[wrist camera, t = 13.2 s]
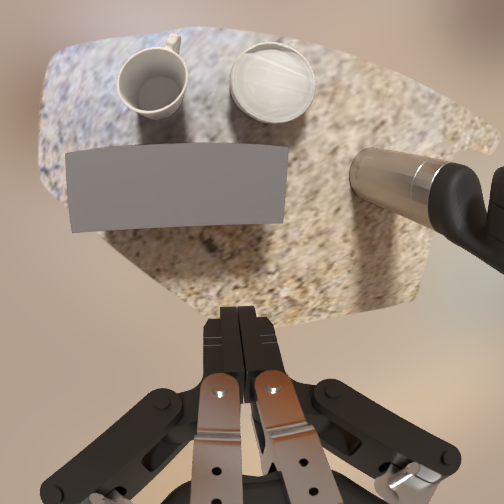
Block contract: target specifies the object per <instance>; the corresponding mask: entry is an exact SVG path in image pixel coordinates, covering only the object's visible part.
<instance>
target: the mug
mask: <svg viewBox="0 0 504 504" xmlns="http://www.w3.org/2000/svg"><path fill="white" fill-rule="evenodd" d="M180 44H181V36H180V35H177V34H170V35H169V37H168V40H167V42H166V45H165V47H164V48H161V47H154V48H148V49H145V50H142V51H140V52H138V53H136V54H134V55H133V56H132V57H130V58H129V59H128V60H127V61H126V62H125V64H124V65H123V67H122V68H121V70H120V72H119V75H118V79H117V91H118V95H119V97H120V99H121V101H122V102H123V103H124V104H125V105H126V106H127V107H128V108H129V109H131V110H133V111H135V112H137V113H139V114H141V115H142V116H144V117H147V118H149V119H154V120H160V119H164V118H167V117H169V116H171V115H172V114H173V113H175V112H176V111H177V109H178V108H179V106H180V104H181V102H182V99H183V96H184V93H185V91H186V87H187V83H188V70H187V66H186V64H185V62H184V60H183V59H182V58H181V57H180V56H179V50H180Z"/></svg>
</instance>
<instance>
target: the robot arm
mask: <svg viewBox="0 0 504 504" xmlns="http://www.w3.org/2000/svg"><path fill="white" fill-rule="evenodd" d="M350 183H351V186H352V189H353V190H354V192H355V193H356V195H357V196H358V197H360V198H361V199H363V200H366V201H368V202H371V203H373V204H375V205H378V206H380V207H382V208H385V209H387V210H389V211H392V212H394V213H396V214H399V215H401V216H403V217H405V218H408V219H410V220H412V221H414V222H416V223H419V224H421V225H423V226H425V227H427V228H430V229H432V230H434V231H436V232H438V233H440V234H442V235H444V236H445V237H446V238H447V239H448V240H450V241H451V242H453V243H454V244H456V245H458V246H460V247H462V248H463V249H465V250H467V251H468V252H470V253H471V254H473V255H475V256H476V257H478V258H479V259H481V260H482V261H484V262H485V263H487V264H488V265H490V266H491V267H493V268H494V269H496V270H497V271H499V272H500V273H502V274H504V167H501V168H498V169H497V170H496V171H495V173H494V175H493V179H492V184H491V191H490V200H489V206H488V213H487V212H486V208H485V204H484V200H483V194H482V189H481V185H480V182H479V179H478V177H477V175H476V174H475V172H474V171H473V170H472V169H470V168H469V167H467V166H465V165H461V164H457V163H452V162H448V161H444V160H439V159H434V158H429V157H424V156H419V155H414V154H409V153H403V152H397V151H391V150H385V149H378V148H367V149H364V150H362V151H361V152H359V153H358V154H357V155H356V157H355V158H354V160H353V162H352V165H351V169H350ZM203 338H204V339H203V341H204V343H203V369H204V370H203V372H204V373H203V378H202V380H201V382H200V383H199V384H198V385H197V386H196V387H195V388H194V389H191V390H188V391H185V392H181V393H178V394H177V393H175V392H174V391H172V390H170V389H166V388H165V389H164V388H160V389H156V390H153V391H151V392H150V393H148V394H147V395H146V396H145V397H144V398H143V399H142V400H141V401H139V402H138V403H137V404H136V405H135V406H134V407H133V408H132V409H130V410H129V411H128V412H127V413H126V414H125V415H123V416H122V417H121V418H120V419H119V420H118V421H117V422H115V423H114V424H113V425H112V426H111V427H110V428H108V429H107V430H106V431H105V432H104V433H103V434H101V435H100V436H99V437H98V438H97V439H95V440H94V441H93V442H92V443H91V444H90V445H88V446H87V447H86V448H85V449H83V451H81V452H80V453H79V454H77V455H76V456H75V457H74V458H73V459H71V460H70V461H69V462H68V463H67V464H65V465H64V466H63V467H61V468H60V469H59V470H58V471H56V472H55V473H54V474H53V475H52V476H50V477H49V478H48V479H46V480H45V481H44V482H43V483H42V485H41V488H40V496H41V499H42V502H43V503H44V504H133V503H132V502H131V501H130V500H131V499H132V498H133V497H134V496H135V495H136V494H137V493H139V492H140V491H141V490H142V489H143V488H144V487H145V486H146V485H147V484H148V483H149V482H150V481H151V480H152V479H153V478H154V477H155V476H156V475H157V474H158V473H159V472H161V471H162V470H163V469H164V467H166V465H168V463H169V462H170V461H171V460H172V459H173V458H174V457H175V456H176V455H177V454H178V453H179V452H180V451H181V450H182V449H183V448H184V447H185V446H186V445H187V444H188V443H189V441H191V440H194V447H193V461H192V479H191V481H188V482H186V483H184V484H182V485H181V486H179V487H177V488H176V489H175V490H174V491H172V492H171V493H170V494H169V495H168V496H167V497H166V499H165V500H164V501H163V502H162V503H161V504H428V503H429V501H430V499H431V498H432V496H433V494H434V492H435V490H436V488H437V486H438V484H439V483H440V482H441V481H442V480H444V479H445V478H447V477H448V476H450V475H452V474H453V473H455V472H456V471H457V470H458V468H459V466H460V464H461V454H460V452H459V450H458V449H457V448H456V447H455V446H453V445H451V444H450V443H448V442H446V441H444V440H442V439H440V438H438V437H436V436H434V435H432V434H430V433H428V432H426V431H425V430H423V429H421V428H419V427H417V426H415V425H414V424H412V423H410V422H408V421H407V420H405V419H403V418H401V417H399V416H398V415H396V414H394V413H392V412H391V411H389V410H387V409H385V408H384V407H382V406H381V405H379V404H377V403H375V402H374V401H372V400H370V399H369V398H367V397H366V396H364V395H362V394H361V393H359V392H357V391H355V390H354V389H352V388H351V387H349V386H347V385H346V384H344V383H343V382H341V381H339V380H336V379H326V380H322V381H321V382H319V383H318V384H317V385H310V384H303V383H299V382H296V381H294V380H293V379H291V378H290V377H289V376H288V375H287V374H286V372H285V370H284V366H283V362H282V358H281V354H280V350H279V346H278V343H277V338H276V336H275V330H274V326H273V324H272V323H271V322H270V320H269V319H268V318H267V317H256V312H255V307H254V306H238V307H220V319H208V321H207V323H206V324H205V326H204V333H203ZM243 395H244V402H245V403H250V404H251V411H252V414H251V420H252V425H253V429H254V433H255V437H256V441H257V445H258V449H259V453H260V458H261V468H262V473H263V476H260V477H256V476H247V475H242V460H241V436H240V406H241V404H242V403H243ZM322 447H324V448H325V449H327V450H328V451H330V452H331V453H333V454H334V455H336V456H338V457H339V458H341V459H342V460H344V461H345V462H347V463H349V464H350V465H352V466H354V467H355V468H357V469H358V470H360V471H362V472H363V473H365V474H367V475H368V476H370V477H372V478H374V479H375V483H374V485H375V490H376V492H377V493H378V494H379V495H380V496H381V497H383V498H384V500H385V501H384V500H382V499H380V498H379V497H377V496H375V495H374V494H372V493H371V492H369V491H367V490H366V489H364V488H363V487H361V486H359V485H358V484H356V483H355V482H353V481H352V480H350V479H349V478H347V477H346V476H344V475H342V474H340V473H338V472H336V471H333V470H331V469H330V466H329V463H328V461H327V458H326V455H325V453H324V450H323V448H322Z"/></svg>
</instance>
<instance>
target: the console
mask: <svg viewBox="0 0 504 504" xmlns="http://www.w3.org/2000/svg"><path fill="white" fill-rule="evenodd" d="M288 153H289V147H284V146H273V145H262V144H245V143H161V144H142V145H127V146H115V147H105V148H96V149H89V150H82V151H76V152H70V153H65V160H66V181H67V194H68V205H69V214H70V222H71V230H72V233H80V232H94V231H109V230H125V229H142V228H161V227H183V226H207V225H236V224H274V223H283V218H284V206H285V194H286V181H287V167H288Z"/></svg>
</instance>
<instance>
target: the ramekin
mask: <svg viewBox="0 0 504 504" xmlns="http://www.w3.org/2000/svg"><path fill="white" fill-rule="evenodd" d="M315 89H316V81H315V76H314V73H313V70H312V68H311V66H310V64H309V63H308V61H307V60H306V59H305V58H304V56H303V55H301V54H300V53H299V52H298V51H297V50H295V49H293V48H292V47H290V46H287V45H285V44H281V43H277V42H264V43H259V44H255V45H253V46H251V47H249V48H247V49H246V50H245V51H243V52H242V53H241V54H240V55H239V56H238V58H237V59H236V60H235V62H234V64H233V66H232V69H231V72H230V91H231V95H232V98H233V100H234V102H235V103H236V105H237V106H238V107H239V108H240V109H241V110H242V111H243V112H244V113H246V114H247V115H249V116H250V117H252V118H254V119H256V120H258V121H261V122H264V123H272V124H278V123H285V122H289V121H292V120H294V119H296V118H298V117H299V116H301V115H302V114H303V113H304V112H305V111H306V110H307V109H308V108H309V106H310V105H311V103H312V100H313V98H314V94H315Z"/></svg>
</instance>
